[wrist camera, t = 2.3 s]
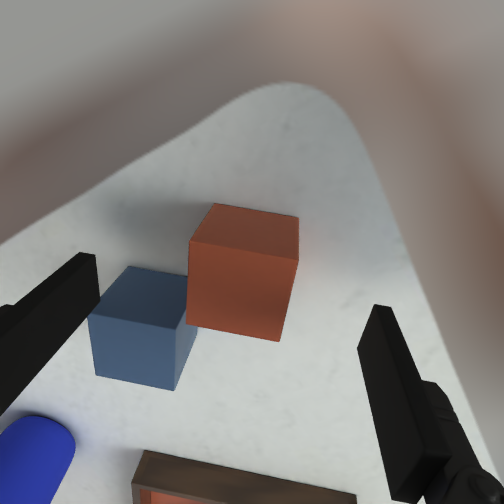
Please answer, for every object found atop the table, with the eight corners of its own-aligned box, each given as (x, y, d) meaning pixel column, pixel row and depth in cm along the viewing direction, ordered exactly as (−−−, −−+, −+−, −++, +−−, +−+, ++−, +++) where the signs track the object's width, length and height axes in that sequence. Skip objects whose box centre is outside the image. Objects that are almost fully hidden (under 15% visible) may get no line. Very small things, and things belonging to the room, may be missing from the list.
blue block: (200, 278, 22) (175, 330, 17) (197, 334, 24) (174, 391, 20) (128, 265, 22) (85, 312, 18) (131, 322, 24) (95, 375, 20)
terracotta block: (299, 217, 19) (298, 260, 14) (283, 287, 21) (279, 342, 17) (214, 202, 19) (188, 240, 15) (208, 274, 21) (185, 324, 17)
